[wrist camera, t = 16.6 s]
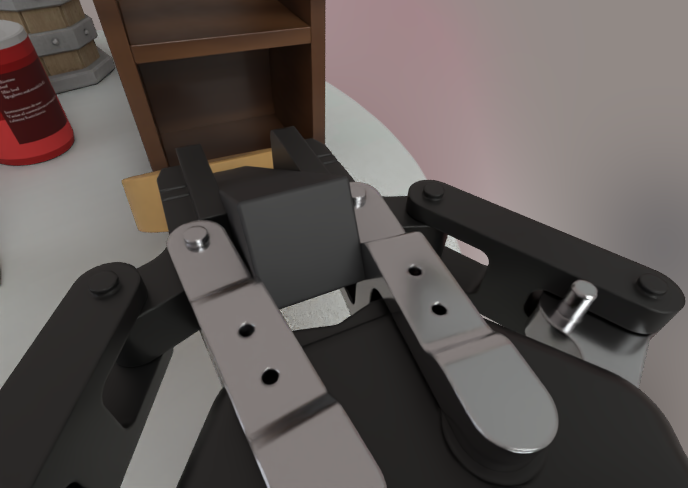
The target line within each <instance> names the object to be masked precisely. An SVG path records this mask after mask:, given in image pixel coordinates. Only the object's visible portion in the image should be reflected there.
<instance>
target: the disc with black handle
mask: <svg viewBox="0 0 688 488" xmlns="http://www.w3.org/2000/svg"><path fill="white" fill-rule="evenodd" d="M208 163H209V165H210V167H211V170H212V172H213V175H214V177H215V179H216V182H217V184H218V187H219V189H220V190H219V195H220V197H221V200H222V202H223V205H224V207H225V210H226V212H227V216H228V220H229V225H230V229H231V234H232V238H233V243H234V247H235V248H236V250H237V252H238V253H239V255H240V257H241V259H242V260H243V262H244V264H245V265H246V267H247V269H248V271H249V272H250V274H251V276H252V277H253V276H256V275H257V276H258V277H259V278H260V279H261V281H262V282H263V284H264V285H265V287H266V289H267V290H268V292H269V294H270V295H271V297H272V299H273V300H274V302H275V304H276V305H277V307H278V309H282V308H285V307H288V306H291V305H294V304H297V303H300V302H302V301H305V300H308V299H311V298H314V297H317V296H320V295H323V294H326V293H329V292H332V291H335V290H337V289H340V288H343V287H346V286H349V285H352V284H355V283H358V282H361V281H364V280H365V275H364V268H363V261H362V253H361V246H360V237H359V232H358V226H357V221H356V216H355V210H354V205H353V199H352V194H351V188H350V183H349V179H348V177H347V176H341V175H331V174H321V173H311V172H302V171H292V170H282V169H273V160H272V150H271V148H268V149H263V150H257V151H252V152H247V153H242V154H236V155H231V156H226V157H221V158H216V159H211V160H208ZM160 171H161V170H159V171H155V172H150V173H146V174H142V175H137V176H133V177H129V178H126V179H123V180H122V184H123V187H124V190H125V193H126V196H127V199H128V202H129V204H130V207H131V210H132V213H133V216H134V219H135V222H136V225H137V228H138V230H140V231H142V232H150V233H152V232H168V226H167V222H166V218H165V214H164V210H163V205H162V201H161V197H160V192H159V189H158V185H157V178H158V175H159V173H160Z"/></svg>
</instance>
